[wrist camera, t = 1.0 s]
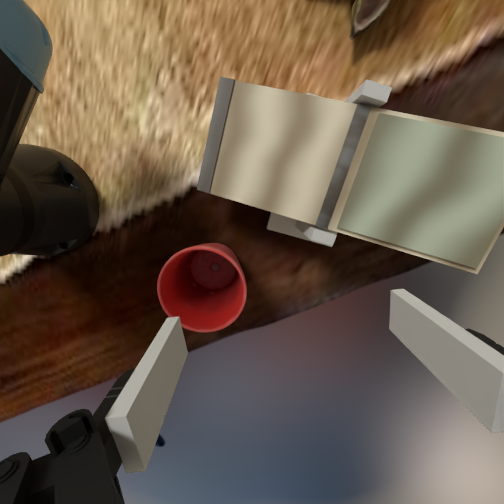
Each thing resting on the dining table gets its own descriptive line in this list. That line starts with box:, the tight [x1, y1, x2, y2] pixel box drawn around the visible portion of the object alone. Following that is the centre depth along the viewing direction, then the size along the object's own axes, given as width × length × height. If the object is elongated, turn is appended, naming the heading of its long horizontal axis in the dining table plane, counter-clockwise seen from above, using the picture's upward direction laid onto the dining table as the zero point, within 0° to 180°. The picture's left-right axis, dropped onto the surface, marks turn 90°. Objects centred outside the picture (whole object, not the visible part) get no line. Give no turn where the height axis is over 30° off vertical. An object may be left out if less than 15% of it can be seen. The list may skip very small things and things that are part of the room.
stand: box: [267, 80, 392, 247], centre depth 28 cm, size 20×18×11 cm
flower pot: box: [157, 243, 247, 332], centre depth 32 cm, size 11×11×10 cm
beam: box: [197, 77, 504, 274], centre depth 25 cm, size 30×12×3 cm, turn 74°
